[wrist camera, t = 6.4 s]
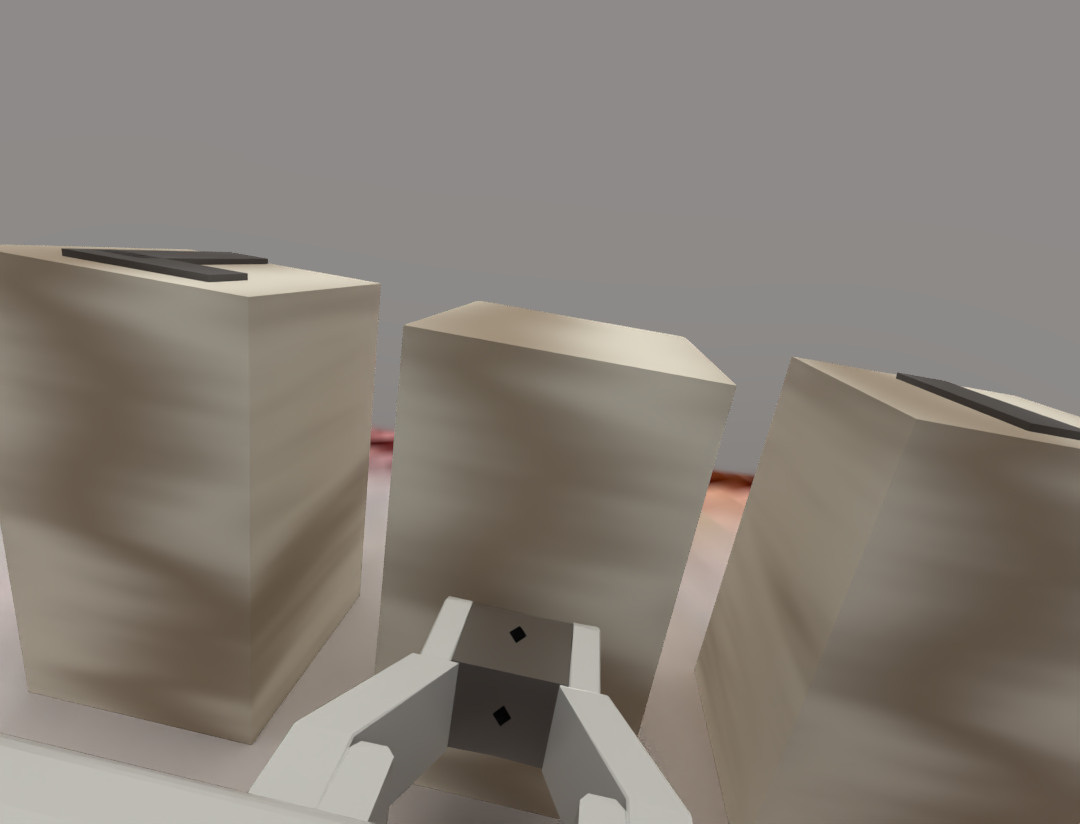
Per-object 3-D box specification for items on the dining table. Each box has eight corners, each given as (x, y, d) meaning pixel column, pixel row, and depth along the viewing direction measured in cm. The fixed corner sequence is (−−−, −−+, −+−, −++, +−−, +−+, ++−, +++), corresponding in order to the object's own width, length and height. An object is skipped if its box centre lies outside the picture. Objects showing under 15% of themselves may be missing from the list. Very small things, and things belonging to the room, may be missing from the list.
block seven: (361, 592, 19) (383, 278, 15) (251, 745, 13) (248, 288, 10) (205, 559, 19) (193, 244, 16) (28, 691, 13) (-49, 235, 10)
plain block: (608, 649, 18) (684, 337, 15) (610, 830, 12) (736, 386, 9) (440, 613, 18) (478, 300, 15) (366, 772, 13) (403, 325, 9)
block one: (871, 705, 17) (1013, 389, 14) (1008, 931, 12) (1304, 480, 8) (693, 667, 18) (791, 350, 15) (738, 866, 12) (920, 410, 9)
